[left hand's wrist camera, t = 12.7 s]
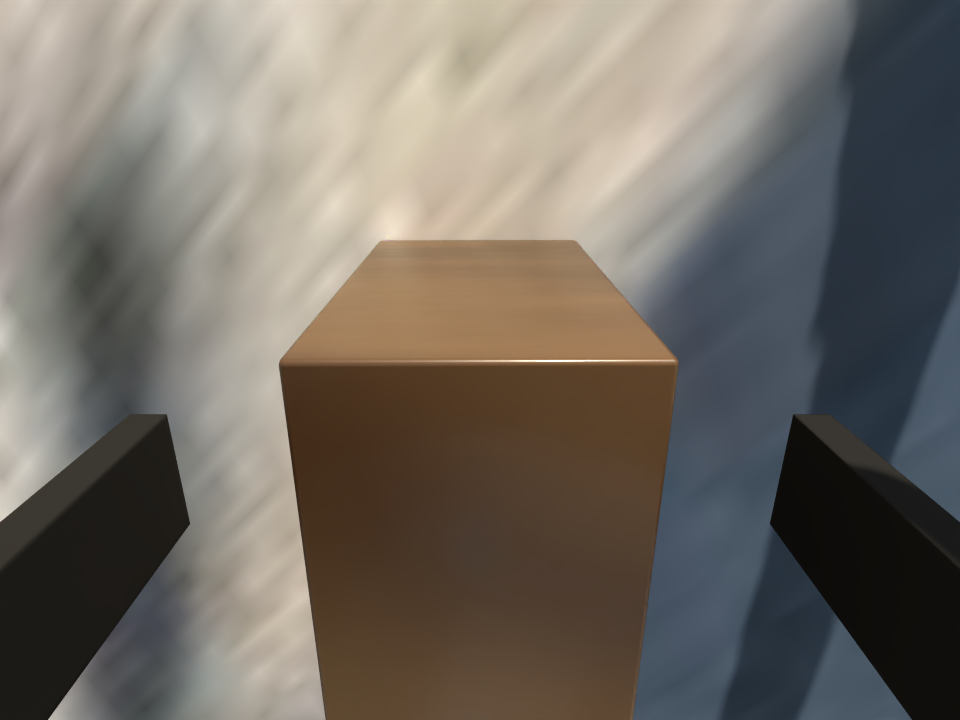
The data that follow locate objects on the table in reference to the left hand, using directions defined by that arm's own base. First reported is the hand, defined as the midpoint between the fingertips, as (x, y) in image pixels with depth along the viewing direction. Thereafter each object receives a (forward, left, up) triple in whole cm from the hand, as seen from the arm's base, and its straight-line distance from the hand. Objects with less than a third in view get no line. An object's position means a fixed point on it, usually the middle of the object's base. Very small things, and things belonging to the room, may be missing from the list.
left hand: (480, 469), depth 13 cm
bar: (+15, +17, -4) cm, 23 cm away
